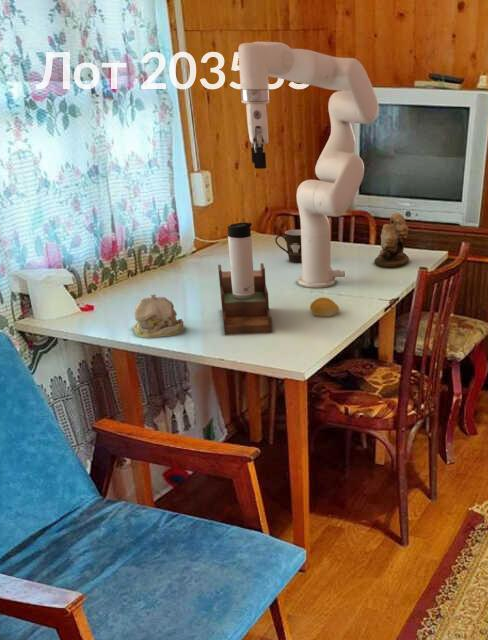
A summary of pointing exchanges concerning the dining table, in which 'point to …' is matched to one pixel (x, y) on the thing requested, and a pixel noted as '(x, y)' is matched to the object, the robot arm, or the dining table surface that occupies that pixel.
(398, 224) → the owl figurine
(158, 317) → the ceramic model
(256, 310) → the step rack
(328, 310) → the bread roll
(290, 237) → the coffee mug
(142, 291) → the dining table surface
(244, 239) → the travel mug
